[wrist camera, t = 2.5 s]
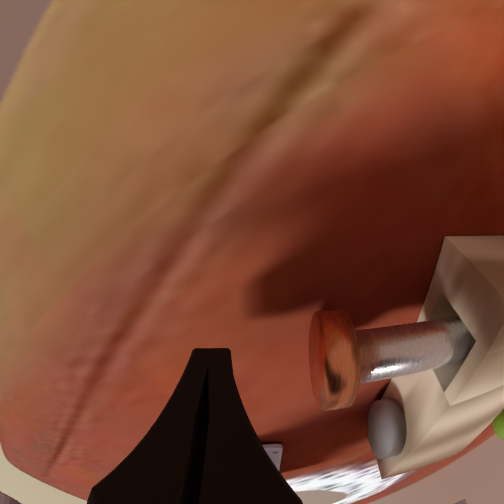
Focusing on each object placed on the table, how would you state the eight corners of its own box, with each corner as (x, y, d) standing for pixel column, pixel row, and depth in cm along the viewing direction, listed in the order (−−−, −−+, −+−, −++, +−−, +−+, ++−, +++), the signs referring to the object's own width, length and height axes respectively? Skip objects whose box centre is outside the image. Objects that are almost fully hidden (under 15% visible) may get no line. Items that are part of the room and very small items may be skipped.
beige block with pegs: (476, 392, 20) (497, 434, 16) (355, 426, 20) (368, 482, 15) (560, 235, 12) (607, 277, 7) (427, 236, 12) (494, 311, 7)
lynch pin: (498, 323, 14) (529, 367, 11) (305, 356, 14) (320, 428, 11) (523, 270, 12) (562, 312, 9) (314, 290, 12) (338, 369, 9)
